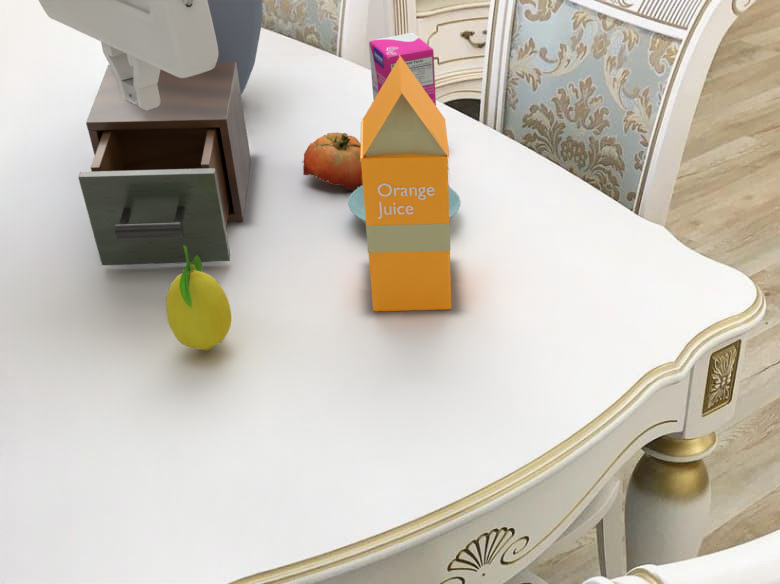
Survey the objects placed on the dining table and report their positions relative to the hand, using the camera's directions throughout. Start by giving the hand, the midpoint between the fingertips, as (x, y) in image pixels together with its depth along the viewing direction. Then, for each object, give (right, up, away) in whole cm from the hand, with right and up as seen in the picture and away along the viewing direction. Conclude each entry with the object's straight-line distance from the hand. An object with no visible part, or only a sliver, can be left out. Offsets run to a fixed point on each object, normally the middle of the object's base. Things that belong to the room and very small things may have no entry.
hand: (142, 103), depth 91 cm
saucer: (+19, +1, +28) cm, 34 cm away
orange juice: (+20, -9, +18) cm, 29 cm away
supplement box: (+18, +15, +41) cm, 47 cm away
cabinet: (-6, +6, +32) cm, 33 cm away
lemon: (+3, -18, +10) cm, 21 cm away
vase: (-9, +23, +48) cm, 54 cm away
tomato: (+11, +8, +35) cm, 37 cm away
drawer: (-4, -3, +22) cm, 23 cm away
